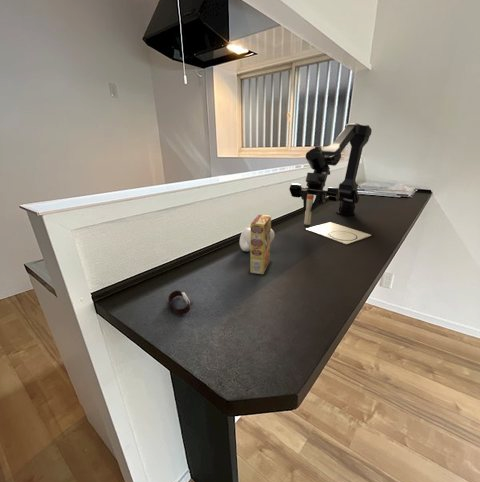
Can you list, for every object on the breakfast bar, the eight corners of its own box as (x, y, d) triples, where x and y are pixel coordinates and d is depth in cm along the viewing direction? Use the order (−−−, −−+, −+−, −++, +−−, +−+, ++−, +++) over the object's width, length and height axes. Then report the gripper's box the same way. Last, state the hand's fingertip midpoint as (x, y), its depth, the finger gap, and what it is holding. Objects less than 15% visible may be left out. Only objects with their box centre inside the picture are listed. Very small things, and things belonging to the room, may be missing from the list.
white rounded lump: (230, 251, 91) (229, 226, 87) (252, 241, 99) (253, 218, 95) (255, 261, 84) (256, 234, 80) (277, 249, 92) (279, 225, 88)
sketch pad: (305, 229, 111) (305, 228, 111) (330, 222, 119) (330, 221, 119) (346, 244, 96) (346, 243, 96) (371, 235, 104) (371, 234, 104)
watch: (195, 312, 60) (194, 299, 59) (176, 319, 58) (174, 305, 57) (183, 296, 66) (181, 283, 65) (164, 302, 64) (163, 289, 62)
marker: (302, 226, 105) (305, 195, 99) (306, 225, 106) (310, 194, 101) (307, 228, 103) (310, 196, 97) (311, 226, 104) (315, 195, 99)
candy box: (263, 275, 76) (265, 224, 69) (249, 273, 77) (250, 223, 70) (269, 262, 83) (272, 215, 77) (256, 260, 84) (258, 214, 78)
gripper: (292, 162, 102) (280, 196, 98) (343, 165, 93) (331, 202, 89) (298, 180, 111) (286, 211, 107) (343, 184, 103) (333, 219, 99)
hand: (307, 211), depth 100 cm, fingers closed on marker, 2 cm apart
